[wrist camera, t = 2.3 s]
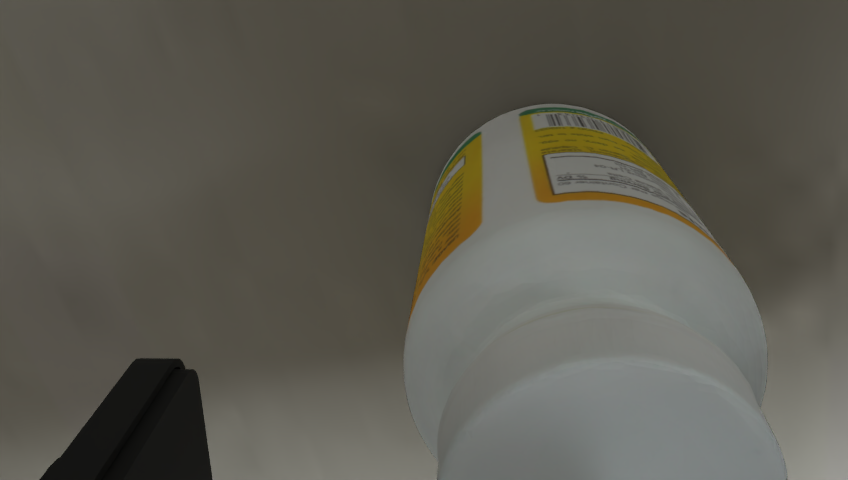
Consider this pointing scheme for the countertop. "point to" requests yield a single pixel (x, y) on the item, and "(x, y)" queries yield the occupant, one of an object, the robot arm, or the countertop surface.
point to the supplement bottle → (580, 316)
